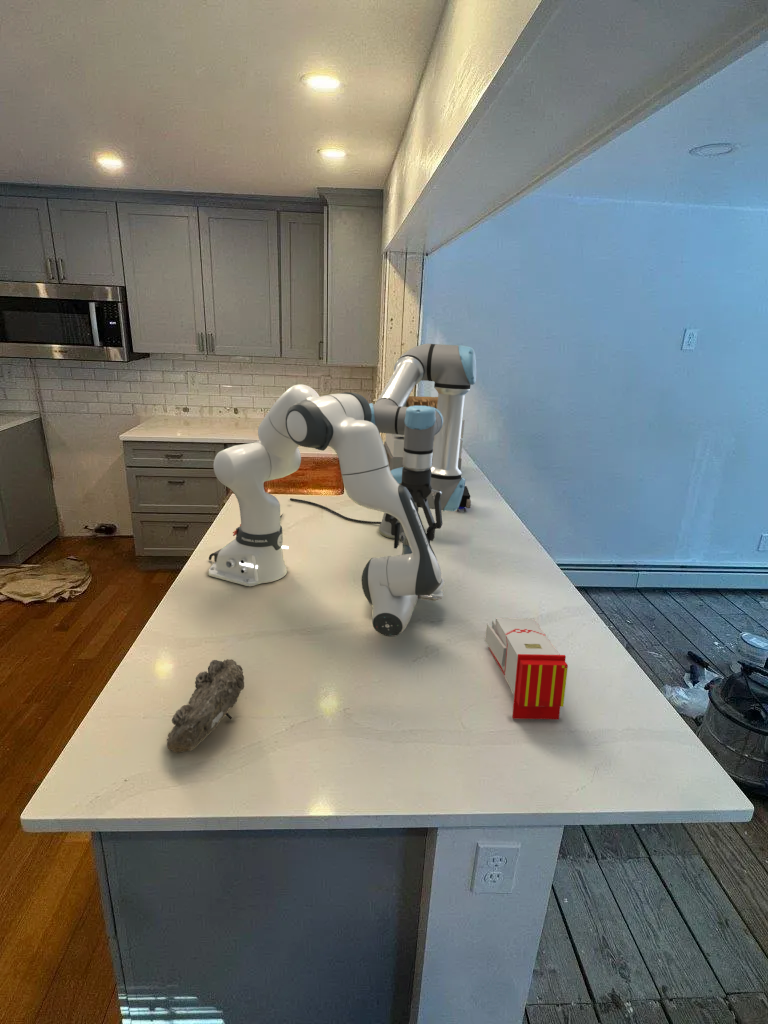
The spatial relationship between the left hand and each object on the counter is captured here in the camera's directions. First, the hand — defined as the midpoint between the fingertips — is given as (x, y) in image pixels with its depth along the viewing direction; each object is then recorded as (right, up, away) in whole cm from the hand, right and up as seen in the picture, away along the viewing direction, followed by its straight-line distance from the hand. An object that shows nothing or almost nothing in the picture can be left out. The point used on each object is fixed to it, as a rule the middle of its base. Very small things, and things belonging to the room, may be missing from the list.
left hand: (410, 571), depth 157 cm
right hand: (0, +7, -3) cm, 7 cm away
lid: (0, +10, -5) cm, 11 cm away
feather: (-45, +14, +53) cm, 71 cm away
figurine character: (+23, +18, +73) cm, 78 cm away
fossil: (-40, -23, -49) cm, 67 cm away
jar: (0, -6, +1) cm, 7 cm away
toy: (+22, -20, -33) cm, 44 cm away
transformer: (+10, +35, +118) cm, 124 cm away
